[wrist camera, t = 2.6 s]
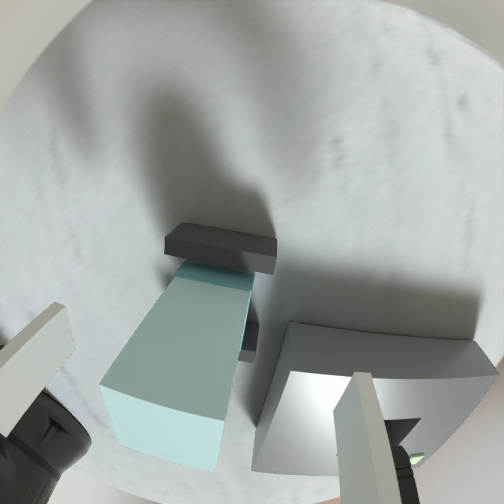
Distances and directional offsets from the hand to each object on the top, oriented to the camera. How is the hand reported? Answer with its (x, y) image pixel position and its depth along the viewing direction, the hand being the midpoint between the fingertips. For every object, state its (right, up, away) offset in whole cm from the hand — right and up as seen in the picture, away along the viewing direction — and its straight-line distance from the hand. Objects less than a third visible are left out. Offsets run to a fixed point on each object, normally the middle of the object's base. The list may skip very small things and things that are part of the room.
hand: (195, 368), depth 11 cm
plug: (0, +3, +8) cm, 8 cm away
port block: (+13, -8, +11) cm, 18 cm away
